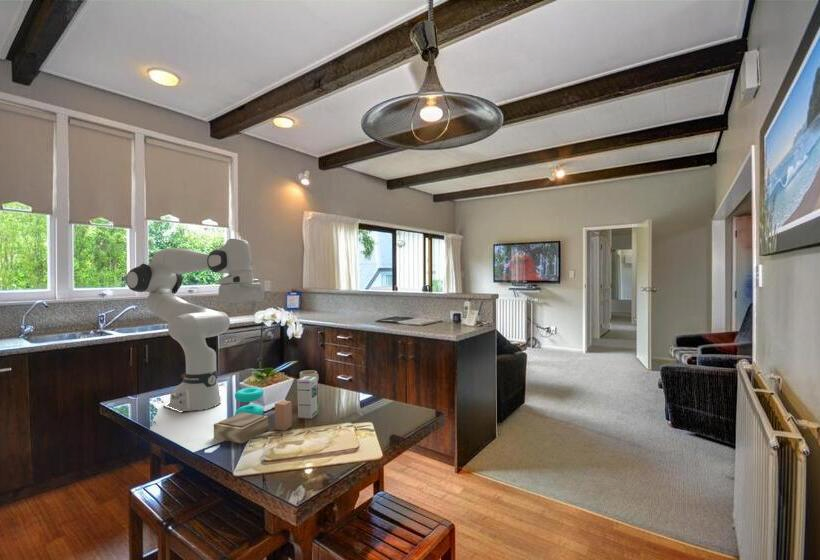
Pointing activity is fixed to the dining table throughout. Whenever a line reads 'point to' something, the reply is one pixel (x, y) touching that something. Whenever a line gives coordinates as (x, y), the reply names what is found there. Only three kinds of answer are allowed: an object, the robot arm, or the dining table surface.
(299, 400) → the syrup box
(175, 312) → the robot arm
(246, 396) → the donuts
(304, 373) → the character mug
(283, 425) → the terracotta block
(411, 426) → the dining table surface
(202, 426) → the dining table surface
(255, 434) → the plinth
